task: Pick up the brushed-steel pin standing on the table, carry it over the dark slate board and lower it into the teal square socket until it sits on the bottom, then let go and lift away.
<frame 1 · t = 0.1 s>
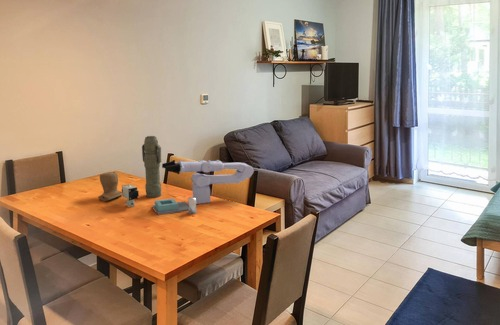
hand: (164, 167, 226), 22 cm above the table, tool horizontal, fingers open, 7 cm apart
stone statue: (153, 195, 249), on the table
pin: (192, 213, 219), on the table
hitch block: (166, 209, 225), on the table
brown upright piece: (110, 198, 245), on the table
pneumatic valve: (131, 206, 231), on the table
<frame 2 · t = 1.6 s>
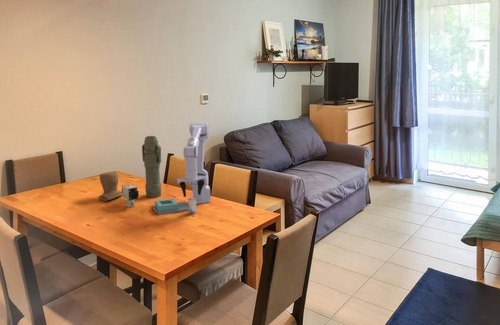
hand: (192, 195, 217), 9 cm above the table, tool pointing down, fingers open, 7 cm apart
nothing on the table moved.
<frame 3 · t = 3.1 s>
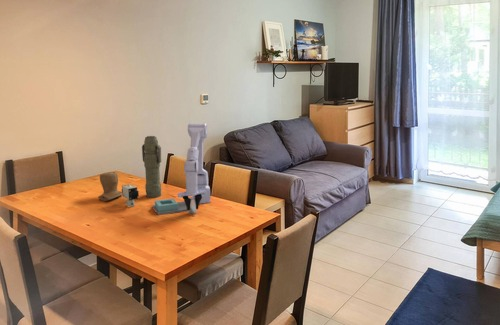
hand: (192, 209, 219), 2 cm above the table, tool pointing down, fingers closed on pin, 4 cm apart
pin: (192, 213, 219), on the table, touching gripper
everything else where it was.
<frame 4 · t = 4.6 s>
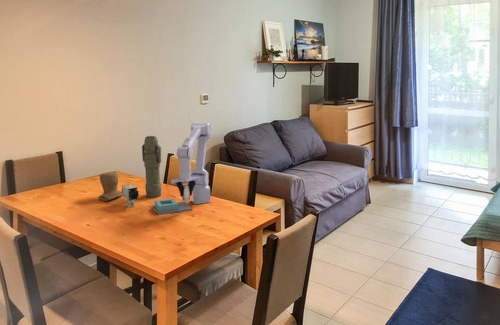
hand: (186, 195, 219), 9 cm above the table, tool pointing down, fingers closed on pin, 4 cm apart
pin: (186, 199, 219), point 7 cm above the table, touching gripper
everything else where it was.
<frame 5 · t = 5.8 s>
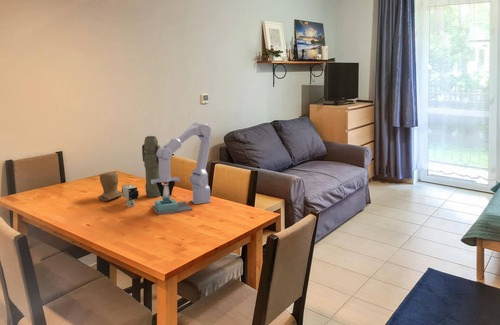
hand: (165, 195, 223), 8 cm above the table, tool pointing down, fingers closed on pin, 4 cm apart
pin: (166, 199, 223), point 5 cm above the table, touching gripper
everything else where it was.
when the fingers open (5 cm above the table, at t = 6.6 s): pin drops 2 cm, resting on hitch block.
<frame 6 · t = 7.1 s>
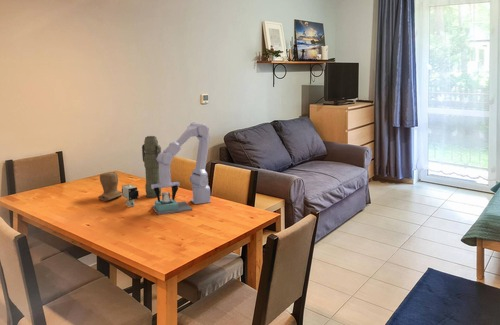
hand: (166, 200, 224), 5 cm above the table, tool pointing down, fingers open, 7 cm apart
pin: (166, 207, 224), point 1 cm above the table, touching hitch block
everything else where it was.
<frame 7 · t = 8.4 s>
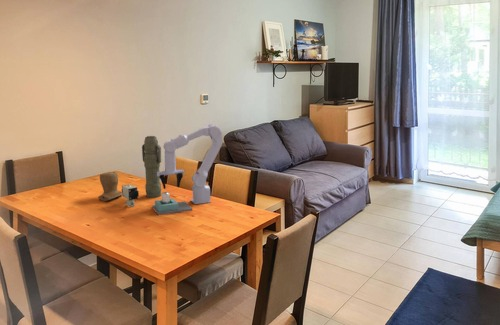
hand: (171, 187, 232), 9 cm above the table, tool pointing down, fingers open, 7 cm apart
nothing on the table moved.
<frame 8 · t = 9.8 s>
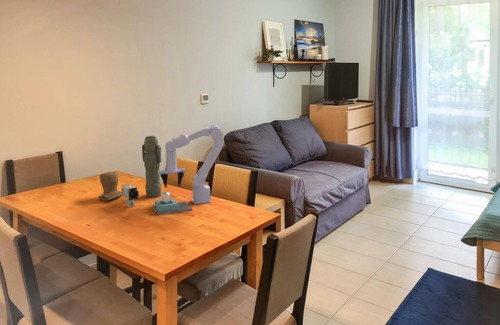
hand: (172, 186, 234), 9 cm above the table, tool pointing down, fingers open, 7 cm apart
nothing on the table moved.
at the end: pin 0.2 cm off-centre on the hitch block, point 1.1 cm above the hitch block's base; pin tilted 2°; the gripper is holding nothing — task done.
